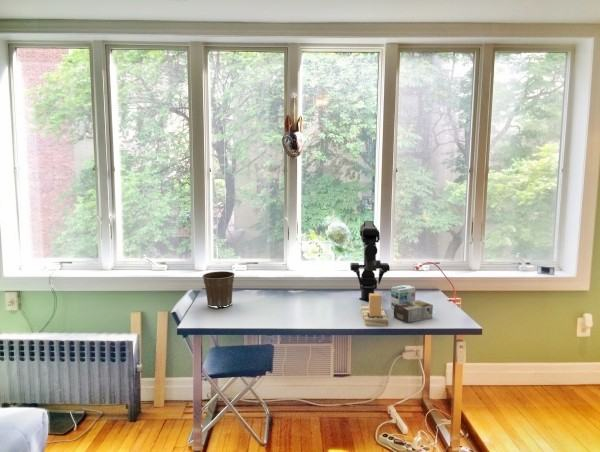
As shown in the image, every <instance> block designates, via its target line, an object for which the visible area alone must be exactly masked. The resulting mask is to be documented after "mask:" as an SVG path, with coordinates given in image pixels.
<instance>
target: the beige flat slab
mask: <svg viewBox="0 0 600 452" xmlns="http://www.w3.org/2000/svg"><path fill="white" fill-rule="evenodd" d="M360 312H361V315H362V316H361V317H362V320H363V322H364V326H367V327H369V326H371V327H372V326H374V327H375V326H378V327H380V326H381V327H388V326H389V320H388V317H387V315H386V312H385V310H384V308H383V306H382V304H381V318H378V316H372V318H369V304H361V305H360Z"/></svg>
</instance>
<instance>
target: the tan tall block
mask: <svg viewBox="0 0 600 452" xmlns="http://www.w3.org/2000/svg"><path fill="white" fill-rule="evenodd" d="M368 305H369V318H372V316H378V318H381V305H382V294H381V293H380V292H374V293H369V302H368Z"/></svg>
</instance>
